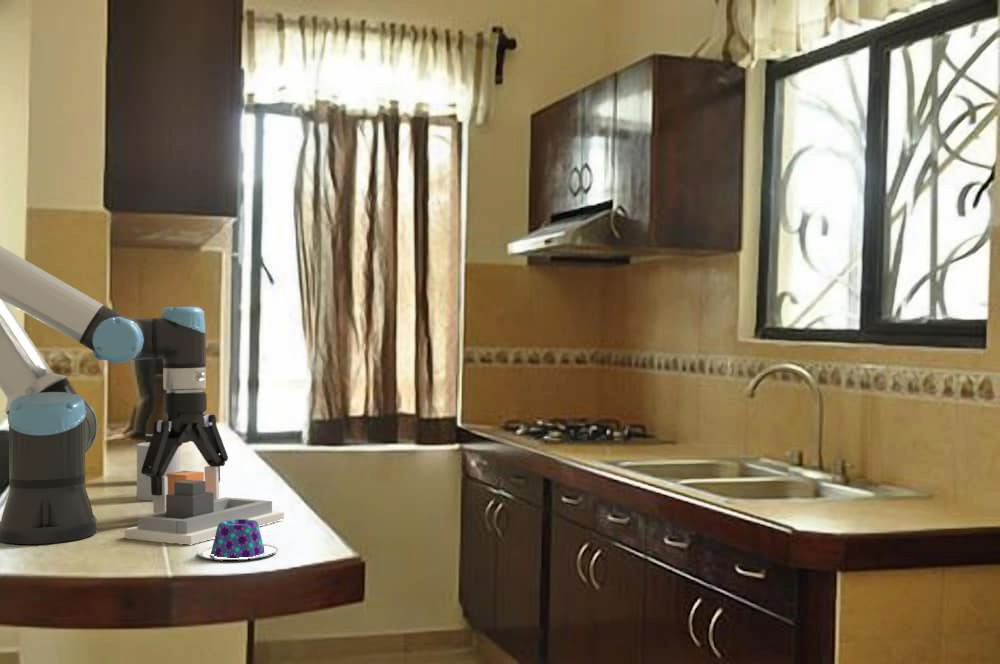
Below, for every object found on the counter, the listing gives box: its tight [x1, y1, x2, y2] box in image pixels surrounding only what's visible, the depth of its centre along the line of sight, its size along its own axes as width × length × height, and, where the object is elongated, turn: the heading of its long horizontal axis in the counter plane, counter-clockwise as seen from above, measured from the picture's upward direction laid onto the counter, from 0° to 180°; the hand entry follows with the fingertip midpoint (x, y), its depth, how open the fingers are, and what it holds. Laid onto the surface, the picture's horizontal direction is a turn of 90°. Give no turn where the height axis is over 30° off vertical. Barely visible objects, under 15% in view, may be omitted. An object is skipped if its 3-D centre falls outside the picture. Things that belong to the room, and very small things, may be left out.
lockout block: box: [167, 470, 205, 494], centre depth 198 cm, size 5×5×8 cm
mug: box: [136, 442, 181, 502], centre depth 221 cm, size 12×8×11 cm
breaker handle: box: [166, 480, 214, 519], centre depth 181 cm, size 5×6×7 cm
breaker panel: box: [124, 496, 285, 545], centre depth 185 cm, size 24×14×4 cm, turn 155°
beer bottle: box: [145, 373, 173, 443], centre depth 241 cm, size 8×8×24 cm
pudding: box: [197, 519, 279, 561], centre depth 165 cm, size 12×12×5 cm
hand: (187, 507), depth 198 cm, fingers open, 13 cm apart
